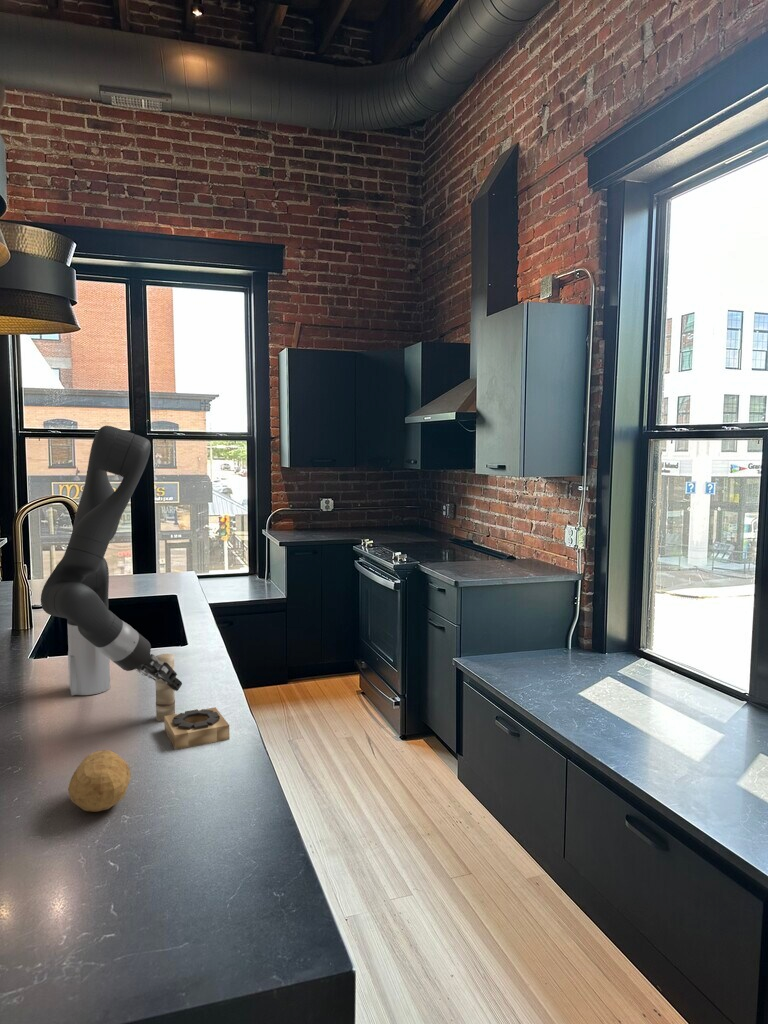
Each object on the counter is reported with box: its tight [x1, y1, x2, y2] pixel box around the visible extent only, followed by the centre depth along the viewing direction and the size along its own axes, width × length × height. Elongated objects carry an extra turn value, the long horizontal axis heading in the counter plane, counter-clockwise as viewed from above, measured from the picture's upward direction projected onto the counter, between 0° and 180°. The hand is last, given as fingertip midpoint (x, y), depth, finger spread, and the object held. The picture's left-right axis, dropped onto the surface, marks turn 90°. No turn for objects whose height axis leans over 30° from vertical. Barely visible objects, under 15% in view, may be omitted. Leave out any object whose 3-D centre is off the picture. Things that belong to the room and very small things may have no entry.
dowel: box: [155, 653, 176, 722], centre depth 155 cm, size 4×4×14 cm
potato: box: [67, 749, 132, 813], centre depth 118 cm, size 10×14×8 cm
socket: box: [163, 707, 230, 750], centre depth 147 cm, size 11×11×4 cm
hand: (172, 684), depth 156 cm, fingers closed on dowel, 4 cm apart
